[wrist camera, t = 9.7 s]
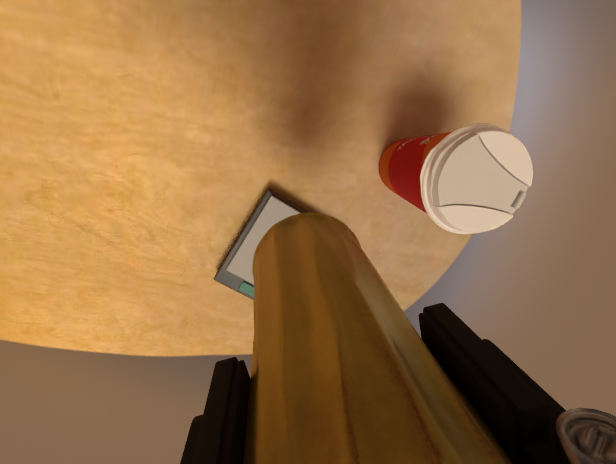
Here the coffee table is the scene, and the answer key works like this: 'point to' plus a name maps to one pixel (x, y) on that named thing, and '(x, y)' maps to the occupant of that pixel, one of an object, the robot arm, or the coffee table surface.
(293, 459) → the vase
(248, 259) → the scale
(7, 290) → the coffee table surface
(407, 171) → the paper cup
